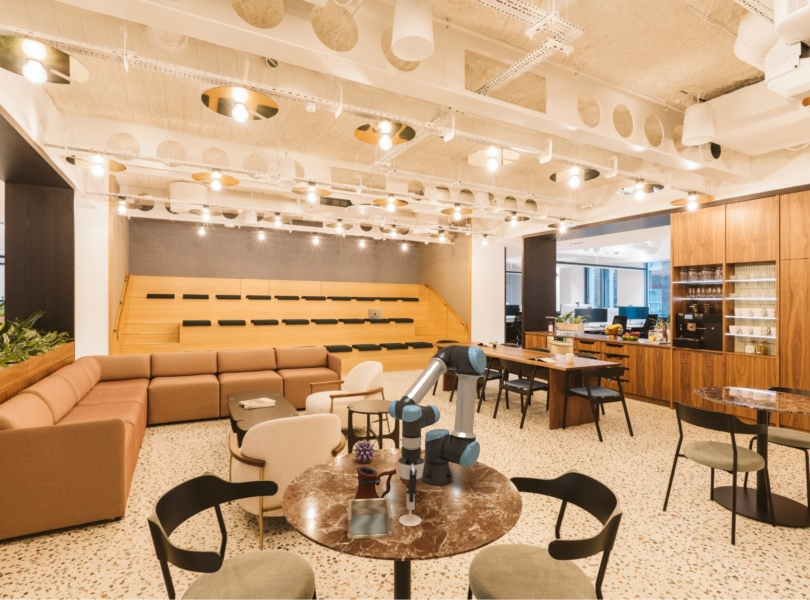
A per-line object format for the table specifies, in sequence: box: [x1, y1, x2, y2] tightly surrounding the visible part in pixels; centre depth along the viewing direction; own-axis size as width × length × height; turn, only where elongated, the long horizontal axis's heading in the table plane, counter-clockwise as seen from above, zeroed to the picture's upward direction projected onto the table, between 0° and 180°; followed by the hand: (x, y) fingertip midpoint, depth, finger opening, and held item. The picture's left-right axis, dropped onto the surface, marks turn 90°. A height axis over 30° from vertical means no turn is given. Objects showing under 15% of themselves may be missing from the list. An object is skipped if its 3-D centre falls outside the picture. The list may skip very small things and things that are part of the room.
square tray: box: [347, 497, 394, 540], centre depth 154 cm, size 16×15×7 cm
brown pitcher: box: [352, 465, 397, 500], centre depth 172 cm, size 18×12×15 cm, turn 94°
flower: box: [353, 438, 376, 463], centre depth 217 cm, size 12×12×12 cm
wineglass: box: [397, 456, 425, 527], centre depth 159 cm, size 9×10×23 cm
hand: (410, 507), depth 159 cm, fingers open, 2 cm apart
